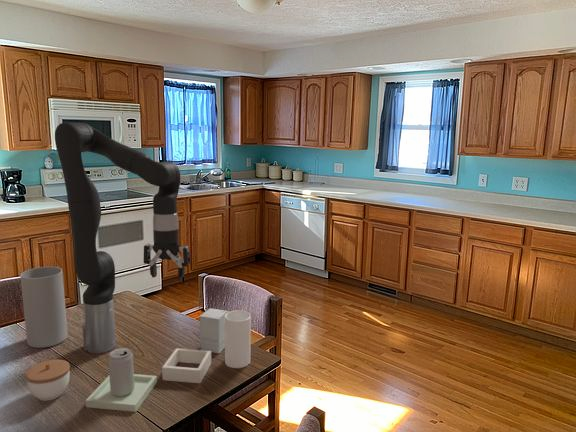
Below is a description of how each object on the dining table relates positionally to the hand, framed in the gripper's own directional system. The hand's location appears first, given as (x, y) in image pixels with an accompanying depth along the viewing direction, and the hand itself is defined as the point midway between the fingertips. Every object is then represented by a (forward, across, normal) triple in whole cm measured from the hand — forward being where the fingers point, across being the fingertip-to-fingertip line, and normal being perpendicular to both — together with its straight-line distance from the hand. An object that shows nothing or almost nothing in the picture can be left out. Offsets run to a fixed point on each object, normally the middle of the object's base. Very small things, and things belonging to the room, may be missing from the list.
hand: (167, 277), depth 136 cm
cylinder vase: (+28, -47, +6) cm, 55 cm away
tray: (+28, -6, -20) cm, 35 cm away
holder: (+28, +8, -6) cm, 30 cm away
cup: (+28, +22, +2) cm, 36 cm away
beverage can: (+28, -6, -20) cm, 35 cm away
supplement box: (+28, +12, +10) cm, 32 cm away
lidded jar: (+28, -26, -23) cm, 45 cm away
